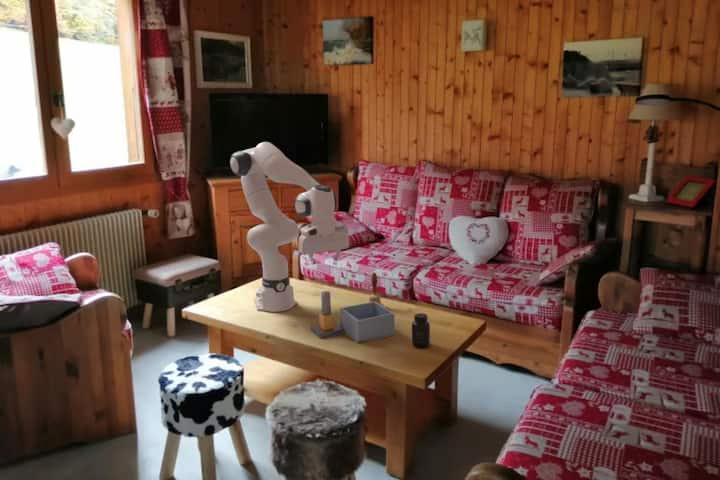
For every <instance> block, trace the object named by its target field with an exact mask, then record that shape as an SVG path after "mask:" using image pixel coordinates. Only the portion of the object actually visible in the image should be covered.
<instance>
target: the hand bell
mask: <svg viewBox="0 0 720 480" xmlns="http://www.w3.org/2000/svg"><path fill="white" fill-rule="evenodd" d="M377 285H378V277H377V272H372V275H371V286H372V294H370V295H369V298H368V303H369V302H374V301H375V302H377V303H378V304H380V305H381V306H383V307H385V305H384V304H383V303H382V301H381V297H380V295H379V294H377Z"/></svg>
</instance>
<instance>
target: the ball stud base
mask: <svg viewBox="0 0 720 480" xmlns="http://www.w3.org/2000/svg"><path fill="white" fill-rule="evenodd" d="M310 331H311V332H312V333H314V335H316V336H317V337H318V338H319V339H324V338H330V337H335V336H339V335H344V333H345V332H344V331H343V328H342V327H340V325H339V324H338V323H336V322H335V321H334V328H331V329H327V330H323V329H322V328H321V327H320V324H319V323H316V324H315V323H314V324H312V325H311V324H310Z"/></svg>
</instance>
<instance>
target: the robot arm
mask: <svg viewBox="0 0 720 480" xmlns="http://www.w3.org/2000/svg"><path fill="white" fill-rule="evenodd" d="M229 165H230V170H231V171H232V173H233V174H235V176H238V177H240V181H241V182H240V183H241V186H242V187H241V189H242V191H243V194H244V196H245V201H246V203H247V204H248V207H249V210H250V212H251V214H252V215H253V216H255V217H256V218H259V219H260V220H262V221H263V222H264V223H262V224H261V223H260V224H257V225H255V226H254V227H252V228H250V229H249V230H248V231H247V235H246V241H247V244H248V245H249V246H250V248H251V249H253V250H254V251H256V252H257V254H258V255H259V257H260V260H261V265H262V275H263V276H262V278H261V279H262V280H261V286H260V287H258V291H255V297H254V298H253V302H254V305H255V309H256V311H260V312H261V311H263V312H270V313H271V312H273V313H278V312H284V311H288V310H291V309H292V308H293V307H294V306H295V305H297V304H298V301H297V300H296V299H295V296H294V287H293V286H292V285H291V281H290V280H291V279H290V275H289V266H288V265H289V264H288V259H287V257H286V256H285V255H283V254H281V253H280V252H279V249H278V248H279V247H280V246H284V245H288V244H290V243H292V242H293V241H295V240H297V239H298V251H299V253H300V254H301V255H303V256H305V255H306V256H308V257H309V259H310V264H311V265H317V259H315V258H314V254H319V253H325V252H326V253H327V252H332V251H334V252H335V254H334V255H333V257H332V260H333V261H334V262H339V257H340V254H341V252H342V250H346V249H349V247H350V238H349V228H348V226H346V225H344V224H342V225H336V218H335V210H336V209H337V207H338V203H339V201H338V200H339V199H338V196H337V195H336V193H335V192H334V190H333V188H332V187H331V186H329V185H325V184H323V183H321V182H320V181H319V180H318V179H317V178H315V177H314V176H313V175H312V174H311V173H309V172H308V171H307V170H306V169H305V168H303V167H301V166H299V165H298V164H296V163H294V162H293V161H291V159H289V158H288V157H286V156H285V154H284V152H282V151H281V150H280V149H279V148H278V147H276V146H275V145H274V144H273V143H272V142H269V141H263V142H260V143H258V144H257V145H256V147H251V148H248V149H244V150H239V151H236V152H234V153H233V154H231V156H230V159H229ZM266 177H267V178H268V179H269V180H271V181H272V182H275V183H277V184H291V185H296V186H300V187H301V188H303V189H305V190H306V191H303V192H301V193H298V194H297V195H296V196H295V198H294V201H293V207H294V211H295V212H296V214H297V215H298V216H300V218H301V217H302V218H309V217H311V223H309V224H306V225H304V226H302V227H300V229H299V226H298V224H297V222H296V221H295V220H293V219H291V218H289V217H288V216H287V215H285V214H284V213H283V212H282V211H281V209H280V208H279V207H278V206H277V204H276V202H275V199H274V197H273V194H272V192H271V189H270V187H269V184H268V183H267V181H266ZM299 234H301V235H300V236H299ZM298 237H299V238H298Z"/></svg>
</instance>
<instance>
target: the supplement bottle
mask: <svg viewBox="0 0 720 480" xmlns="http://www.w3.org/2000/svg"><path fill="white" fill-rule="evenodd" d="M413 318H414V320H413V321H412V324H411V344H412V346H413V347H414V348H416V349H426V348H429V347H430V345H431V324H430V322H429V321H428V320H429V319H428V314H426V313H423V312H421V313H419V312H418V313H416V314H414V317H413Z"/></svg>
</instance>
